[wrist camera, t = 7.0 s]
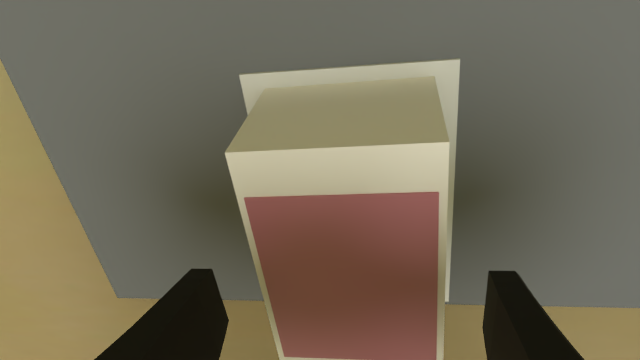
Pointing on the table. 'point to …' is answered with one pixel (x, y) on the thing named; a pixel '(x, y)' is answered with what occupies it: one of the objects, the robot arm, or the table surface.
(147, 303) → the table surface
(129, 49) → the mat
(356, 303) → the card deck
